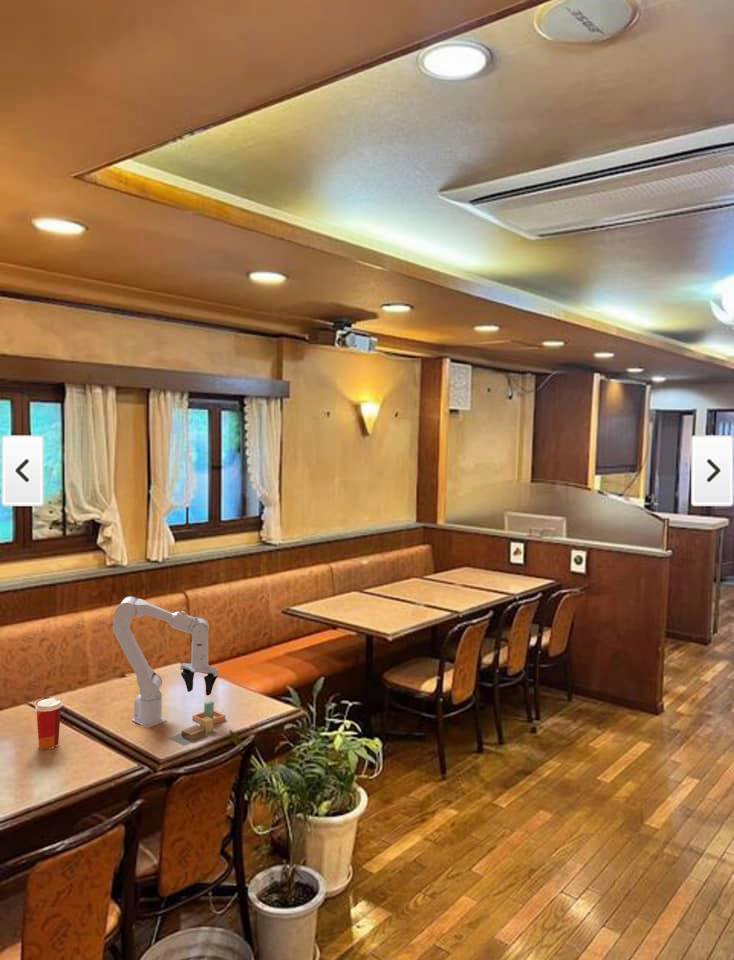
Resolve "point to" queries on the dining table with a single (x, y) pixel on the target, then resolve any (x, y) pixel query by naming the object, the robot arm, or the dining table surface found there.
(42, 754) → the dining table surface
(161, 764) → the dining table surface
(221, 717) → the tray
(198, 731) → the brown rectangular block
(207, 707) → the dowel
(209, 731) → the bench
